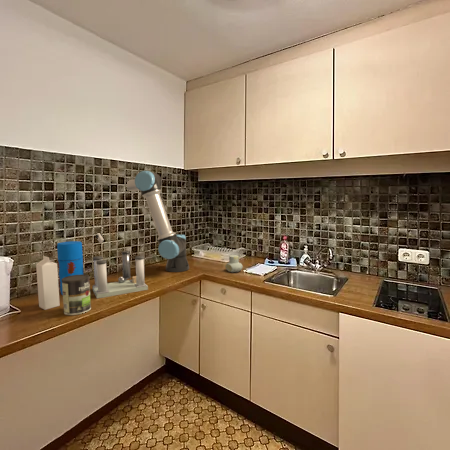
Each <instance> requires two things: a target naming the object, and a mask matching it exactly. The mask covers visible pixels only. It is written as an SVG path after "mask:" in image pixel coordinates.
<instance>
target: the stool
mask: <svg viewBox="0 0 450 450" xmlns="http://www.w3.org/2000/svg"><path fill="white" fill-rule="evenodd" d="M134 259H135V276H134V275H133V276H131V278H132V279H131V278H130V279H127V280H126V281H125V282H122V283H119V282H118V281H114V282H108V279H107V277H108V276H107V275H108V274H107V260H106V259H103V256H102V255H101V256H99V255H97V256H93V257H92V260H93V273H94V284H93V285H92V289H91V290H92V291H93V294H94V295H95V298H96V299H102V298H108V297H113V296H115V297H116V296H120V295H125V294H129V293H135V292H136V293H137V292H141V291H148V290H149V286H148V285H147V284H146V281H145V256H144V255H136V256H135V257H134Z"/></svg>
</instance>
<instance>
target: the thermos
mask: <svg viewBox="0 0 450 450" xmlns="http://www.w3.org/2000/svg"><path fill="white" fill-rule="evenodd" d="M56 251H57V270H58V285H59V294H60V295H61V296H63V288H62V278H64V277H68V276H72V275H85V272H84V257H83V256H84V255H83V243H82V241H78V240H77V241H76V240H72V241H63V242H58V243H57V246H56Z"/></svg>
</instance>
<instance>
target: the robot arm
mask: <svg viewBox="0 0 450 450" xmlns="http://www.w3.org/2000/svg"><path fill="white" fill-rule="evenodd" d="M128 180H129V181H128V182H127V184H126V185H127V189H128V190H129V191H132V192H137V191H139V192H140V194H141V196H142V198H145V200H146V203H147V207H148V209H149V212H150V214H151V215H150V216H151V218H152V220H153V224H154V227H155V229H156V233H157V235H158V237H157V243H158V249H157V251H158V253H159V255H160V256H161V257H162V258H164V259H165V260H167V261H166V265H165V271H166V272H171V273H179V272H180V273H182V272H185V271H189V270H190V264H189V262H188V258H187V242H186V241H187V237H186V235H185V234H177V233H176V232H174V231H173V229H172V226H171V223H170V219H169V218H168V214H167V211H166V208H165V205H164V203H163V200H162V197H161V192H162V189H161V187H162V185H163V179H162V177H161V176H160V174H158V173H156V172H154V171H153V172H152V171H150V170H142V171H141V170H140V171H139V172H138V173H137V174H136V176H135V177H134V179H128ZM100 233H101V232H100ZM100 233H97V234H98V235H96V238H95V239H97V238H98V239H97V241H98V243H100V244H102V243H103V242H104V240H105V239H104V237H103V234H102V233H101V234H100Z"/></svg>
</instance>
